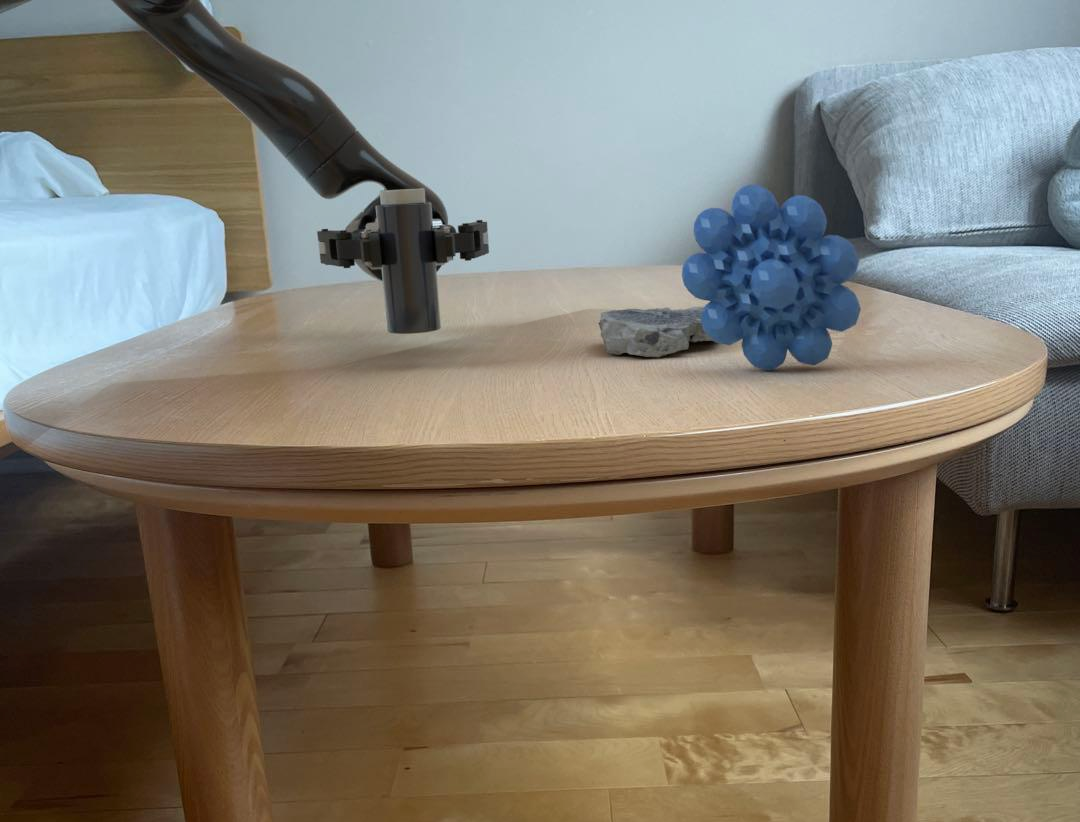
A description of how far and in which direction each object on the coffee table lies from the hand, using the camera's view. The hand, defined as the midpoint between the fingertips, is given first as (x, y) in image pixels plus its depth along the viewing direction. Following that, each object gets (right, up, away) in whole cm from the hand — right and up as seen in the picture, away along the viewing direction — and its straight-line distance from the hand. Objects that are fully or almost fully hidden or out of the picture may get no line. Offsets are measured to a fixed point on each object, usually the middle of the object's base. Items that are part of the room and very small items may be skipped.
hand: (409, 249), depth 74 cm
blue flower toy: (+25, -10, -4) cm, 27 cm away
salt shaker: (0, -5, +5) cm, 7 cm away
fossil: (+19, -6, +9) cm, 21 cm away
